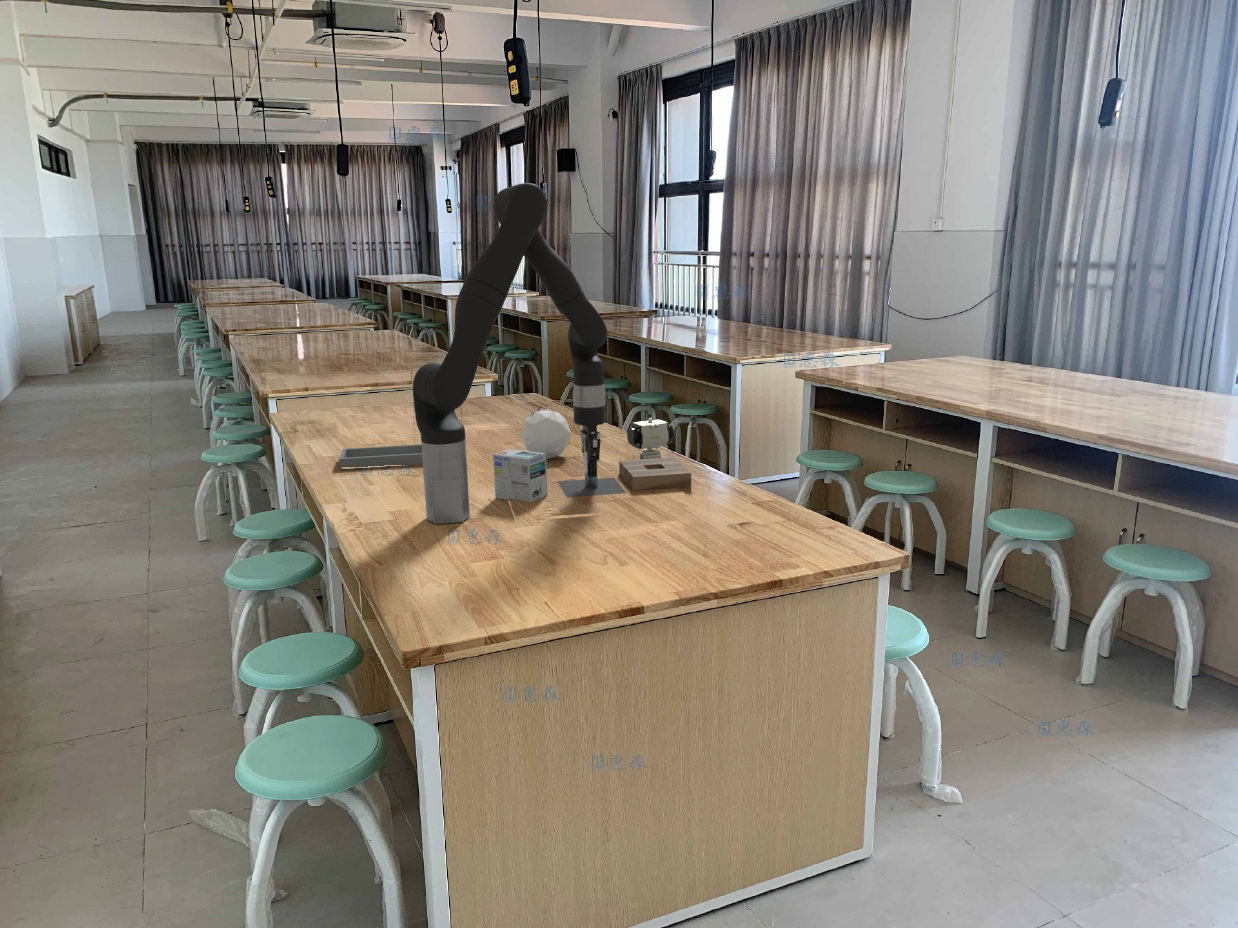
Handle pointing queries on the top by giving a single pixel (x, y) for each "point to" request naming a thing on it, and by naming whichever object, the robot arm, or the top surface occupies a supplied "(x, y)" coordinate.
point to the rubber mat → (578, 489)
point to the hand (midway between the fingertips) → (590, 474)
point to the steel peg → (589, 481)
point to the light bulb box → (520, 475)
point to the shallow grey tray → (381, 456)
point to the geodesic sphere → (546, 433)
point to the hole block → (655, 474)
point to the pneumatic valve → (650, 436)
